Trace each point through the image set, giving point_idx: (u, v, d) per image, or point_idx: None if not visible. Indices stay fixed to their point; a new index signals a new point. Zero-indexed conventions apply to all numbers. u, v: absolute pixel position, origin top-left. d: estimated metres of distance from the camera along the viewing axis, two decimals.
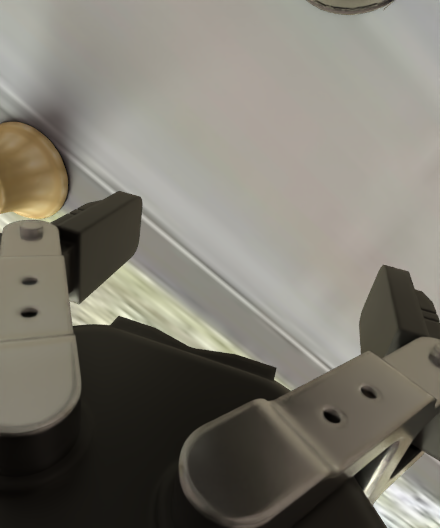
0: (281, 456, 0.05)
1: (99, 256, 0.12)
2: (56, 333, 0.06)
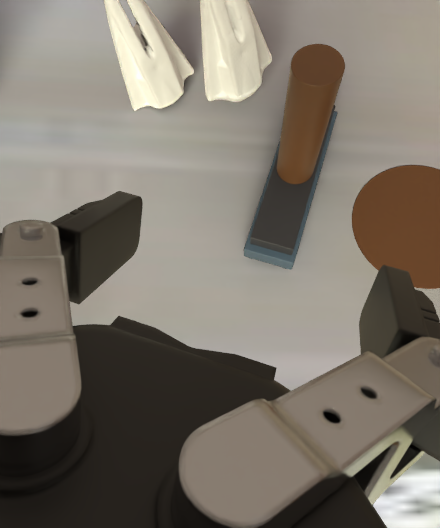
0: (281, 456, 0.05)
1: (99, 257, 0.12)
2: (57, 333, 0.06)
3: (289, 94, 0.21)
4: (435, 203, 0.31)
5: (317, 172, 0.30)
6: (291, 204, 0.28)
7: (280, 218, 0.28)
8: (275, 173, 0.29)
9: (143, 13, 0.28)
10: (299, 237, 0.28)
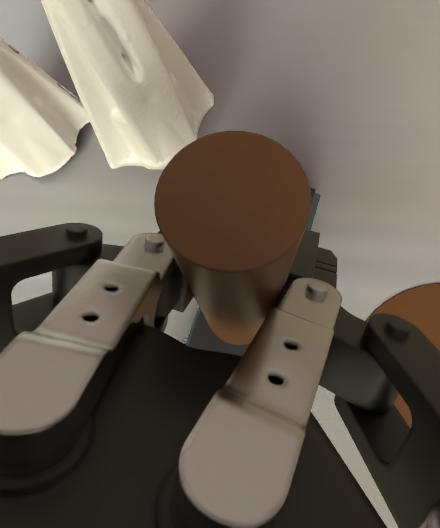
0: (281, 456, 0.05)
1: None
2: (99, 344, 0.06)
3: None
4: None
5: None
6: None
7: None
8: (203, 321, 0.16)
9: None
10: None
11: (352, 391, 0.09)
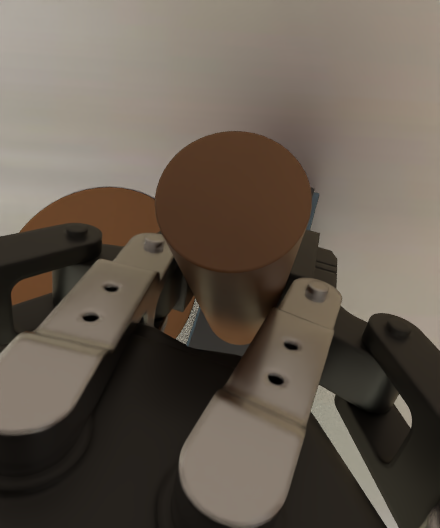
0: (281, 456, 0.05)
1: None
2: (99, 344, 0.06)
3: None
4: None
5: None
6: None
7: None
8: (204, 321, 0.16)
9: None
10: None
11: (352, 391, 0.09)
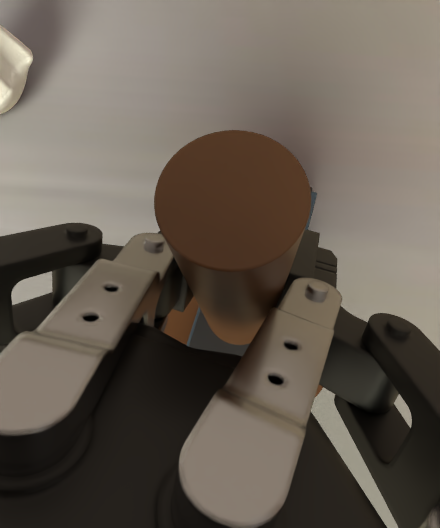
0: (281, 456, 0.05)
1: None
2: (99, 344, 0.06)
3: None
4: None
5: None
6: None
7: None
8: (203, 321, 0.16)
9: None
10: None
11: (352, 391, 0.09)
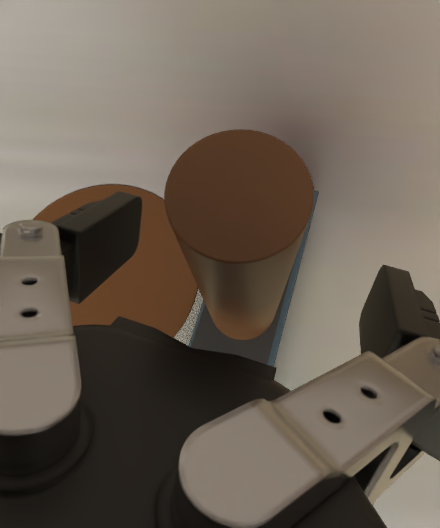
0: (281, 456, 0.05)
1: (99, 256, 0.12)
2: (56, 333, 0.06)
3: None
4: None
5: (285, 304, 0.17)
6: None
7: None
8: (207, 317, 0.16)
9: None
10: None
11: None
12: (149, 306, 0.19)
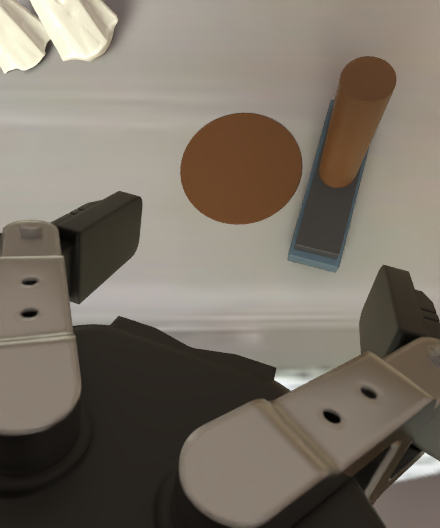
0: (281, 456, 0.05)
1: (99, 256, 0.11)
2: (56, 333, 0.06)
3: (337, 108, 0.21)
4: (256, 147, 0.33)
5: (359, 173, 0.30)
6: (335, 209, 0.28)
7: (324, 223, 0.28)
8: (317, 177, 0.29)
9: None
10: (343, 241, 0.28)
11: None
12: (272, 184, 0.32)
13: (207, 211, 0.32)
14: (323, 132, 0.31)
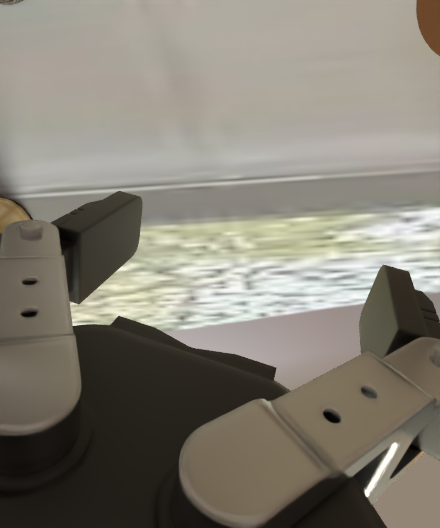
0: (281, 456, 0.05)
1: (99, 256, 0.12)
2: (56, 333, 0.06)
3: None
4: None
5: None
6: None
7: None
8: None
9: None
10: None
11: None
12: None
13: None
14: None
